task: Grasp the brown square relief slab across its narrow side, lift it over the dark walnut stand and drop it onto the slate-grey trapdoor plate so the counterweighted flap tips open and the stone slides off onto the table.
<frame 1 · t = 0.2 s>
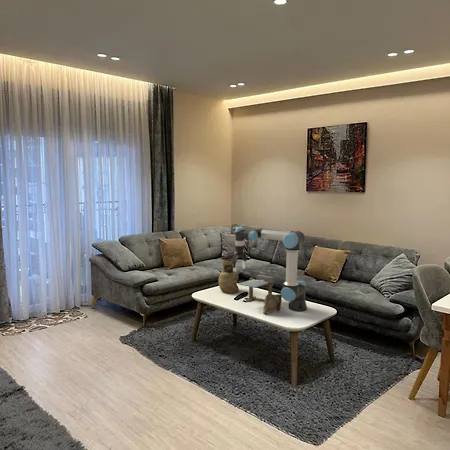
hand: (239, 269, 343), 28 cm above the table, fingers open, 13 cm apart
ceramic vessel: (228, 291, 376), on the table
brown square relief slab: (272, 312, 319), on the table
trapdoor: (257, 282, 338), point 18 cm above the table, hinge at 4.0°
trapdoor frame: (260, 301, 345), on the table
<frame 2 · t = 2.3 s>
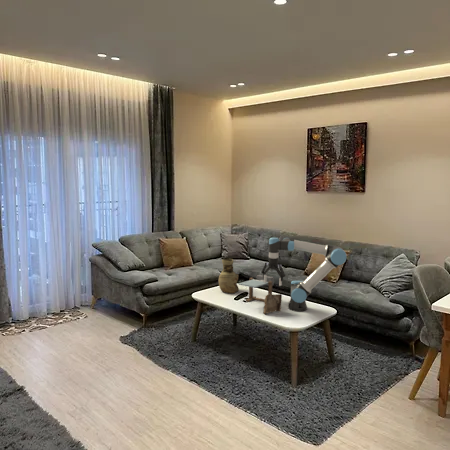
hand: (272, 283, 316), 23 cm above the table, fingers open, 13 cm apart
nothing on the table moved.
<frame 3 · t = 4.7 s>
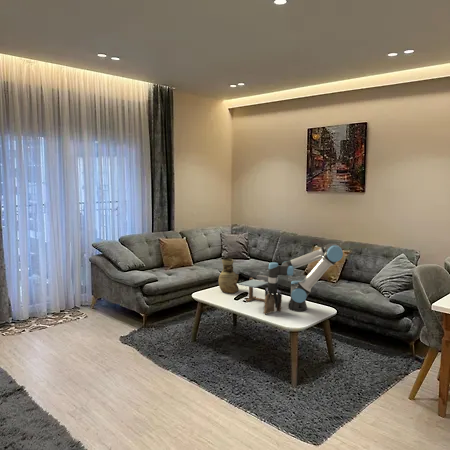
hand: (272, 310, 319), 2 cm above the table, fingers closed on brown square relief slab, 5 cm apart
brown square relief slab: (272, 312, 319), on the table, touching gripper
everything else where it was.
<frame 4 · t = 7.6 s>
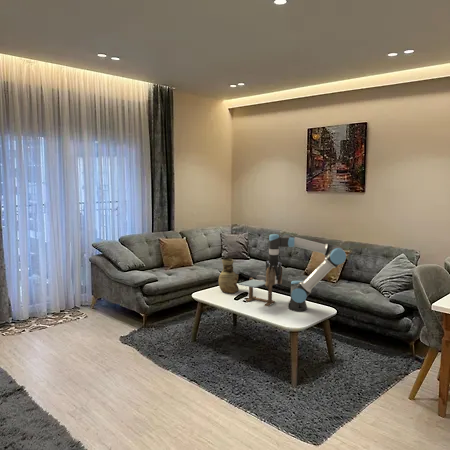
hand: (273, 283, 316), 24 cm above the table, fingers closed on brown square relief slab, 4 cm apart
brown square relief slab: (273, 285, 316), point 22 cm above the table, touching gripper
everything else where it was.
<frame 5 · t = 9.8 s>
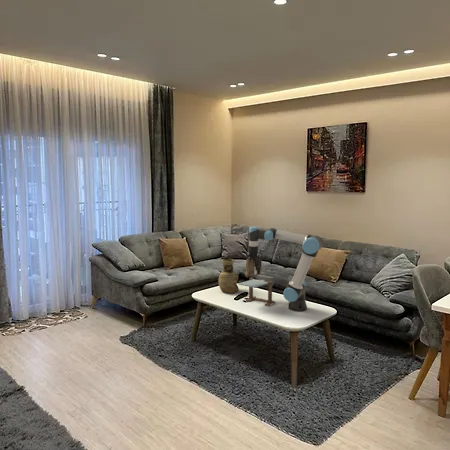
hand: (252, 273, 331), 28 cm above the table, fingers closed on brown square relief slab, 4 cm apart
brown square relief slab: (253, 275, 331), point 26 cm above the table, touching gripper
everything else where it was.
when the fingers open (24 cm above the table, at t = 10.6 s): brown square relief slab drops 14 cm, point 8 cm above the table.
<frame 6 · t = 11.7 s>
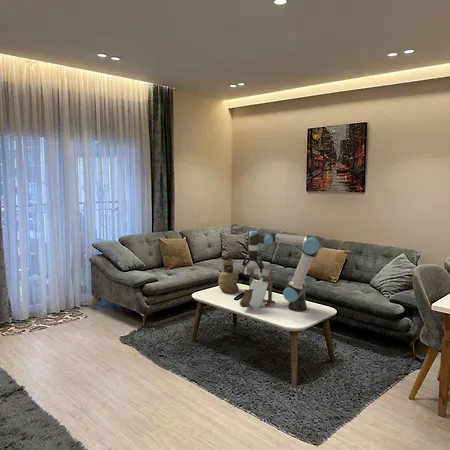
hand: (252, 275, 331), 26 cm above the table, fingers open, 13 cm apart
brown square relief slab: (252, 296, 332), point 8 cm above the table
trapdoor: (258, 287, 340), point 13 cm above the table, hinge at -52.4°
everything else where it was.
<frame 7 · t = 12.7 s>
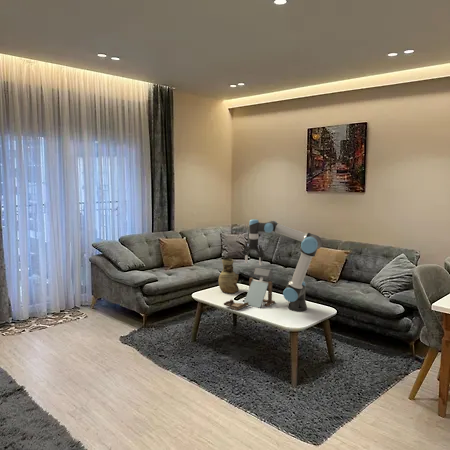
hand: (253, 264, 330), 36 cm above the table, fingers open, 13 cm apart
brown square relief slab: (240, 302, 338), point 2 cm above the table
everything else where it was.
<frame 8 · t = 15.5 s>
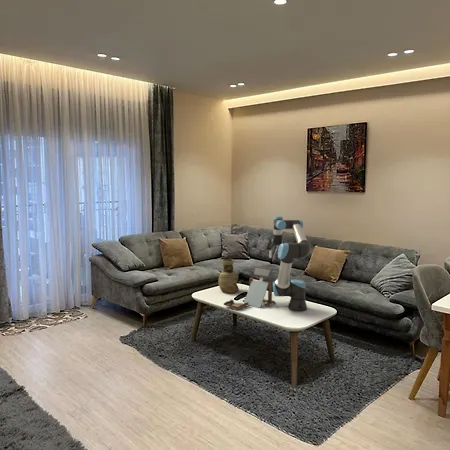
hand: (277, 258, 347), 37 cm above the table, fingers open, 13 cm apart
nothing on the table moved.
at the end: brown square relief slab point 1.9 cm above the table; the gripper is holding nothing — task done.
